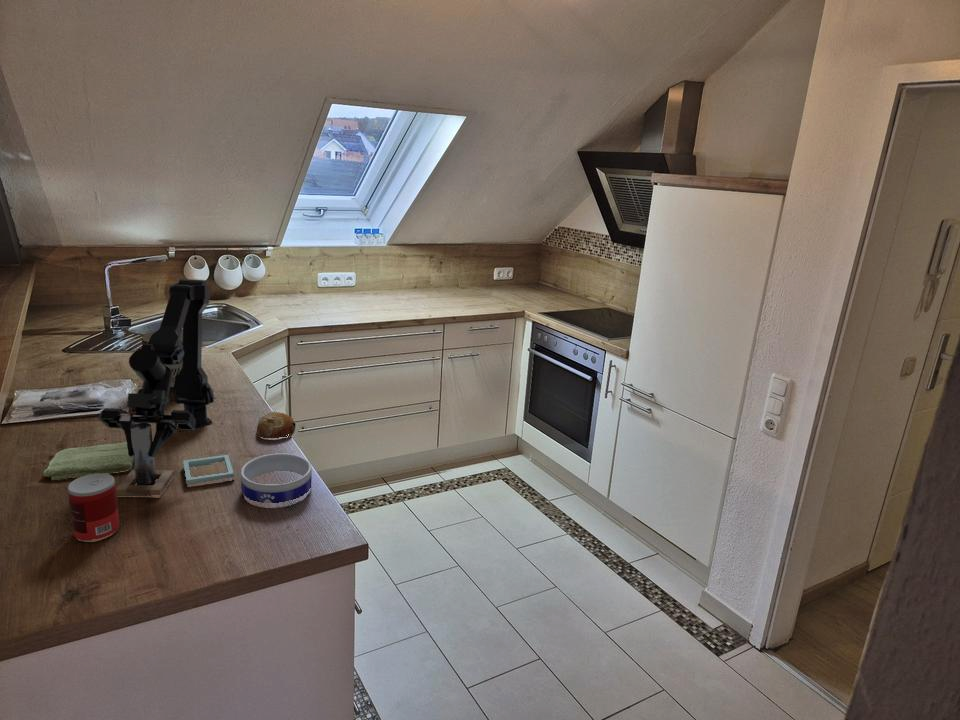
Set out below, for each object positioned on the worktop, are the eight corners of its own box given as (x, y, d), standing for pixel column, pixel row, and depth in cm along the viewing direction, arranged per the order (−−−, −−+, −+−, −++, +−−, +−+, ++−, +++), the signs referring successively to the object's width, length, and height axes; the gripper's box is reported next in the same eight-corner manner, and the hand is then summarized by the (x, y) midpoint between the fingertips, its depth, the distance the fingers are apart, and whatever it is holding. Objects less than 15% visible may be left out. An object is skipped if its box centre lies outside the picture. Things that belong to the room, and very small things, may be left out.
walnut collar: (133, 477, 147) (132, 469, 146) (174, 478, 148) (174, 470, 147) (116, 497, 138) (115, 489, 138) (160, 498, 140) (159, 490, 139)
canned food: (127, 522, 130) (122, 473, 127) (106, 545, 123) (100, 494, 119) (88, 520, 130) (82, 471, 127) (65, 543, 122) (58, 492, 119)
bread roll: (263, 438, 179) (249, 415, 175) (297, 421, 181) (284, 398, 177) (264, 454, 170) (250, 430, 167) (300, 436, 172) (287, 412, 169)
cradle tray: (183, 468, 153) (183, 460, 152) (228, 461, 157) (228, 454, 157) (186, 488, 144) (186, 480, 144) (234, 481, 149) (233, 473, 148)
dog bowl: (239, 512, 137) (238, 487, 135) (243, 477, 151) (242, 454, 149) (313, 506, 142) (313, 482, 140) (310, 473, 155) (310, 451, 154)
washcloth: (55, 457, 154) (53, 445, 153) (138, 450, 160) (137, 438, 159) (42, 484, 142) (40, 471, 141) (132, 475, 149) (131, 463, 148)
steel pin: (133, 479, 143) (127, 425, 139) (152, 473, 145) (147, 421, 141) (139, 486, 140) (133, 432, 136) (158, 480, 143) (153, 427, 139)
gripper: (97, 374, 138) (79, 443, 131) (188, 377, 140) (175, 445, 133) (117, 394, 148) (100, 459, 141) (201, 396, 150) (189, 461, 143)
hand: (140, 456), depth 139 cm, fingers closed on steel pin, 4 cm apart
